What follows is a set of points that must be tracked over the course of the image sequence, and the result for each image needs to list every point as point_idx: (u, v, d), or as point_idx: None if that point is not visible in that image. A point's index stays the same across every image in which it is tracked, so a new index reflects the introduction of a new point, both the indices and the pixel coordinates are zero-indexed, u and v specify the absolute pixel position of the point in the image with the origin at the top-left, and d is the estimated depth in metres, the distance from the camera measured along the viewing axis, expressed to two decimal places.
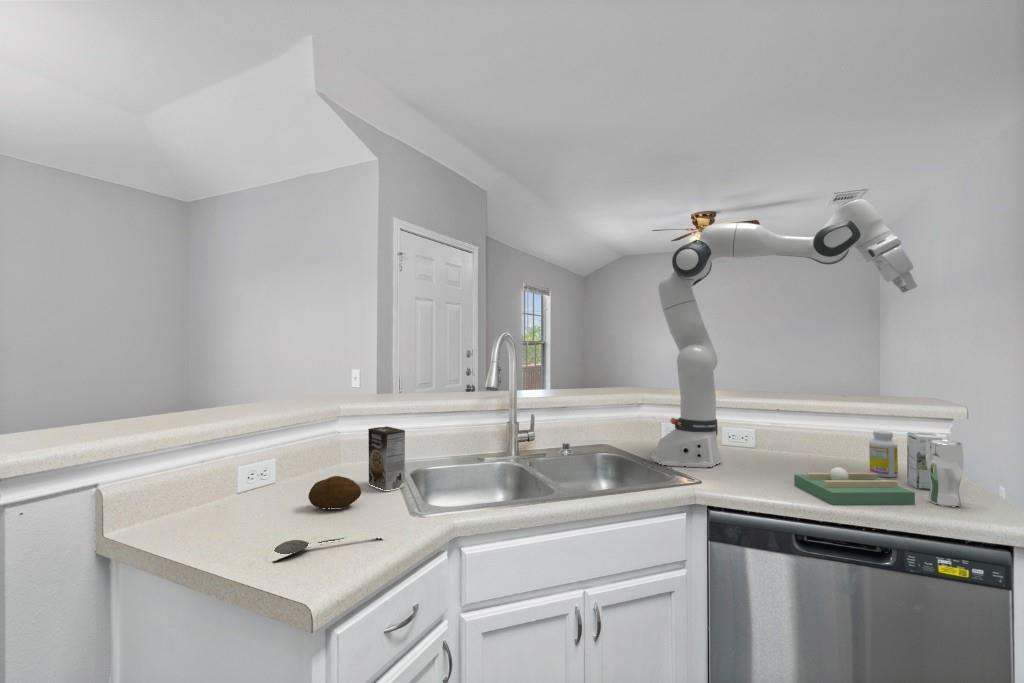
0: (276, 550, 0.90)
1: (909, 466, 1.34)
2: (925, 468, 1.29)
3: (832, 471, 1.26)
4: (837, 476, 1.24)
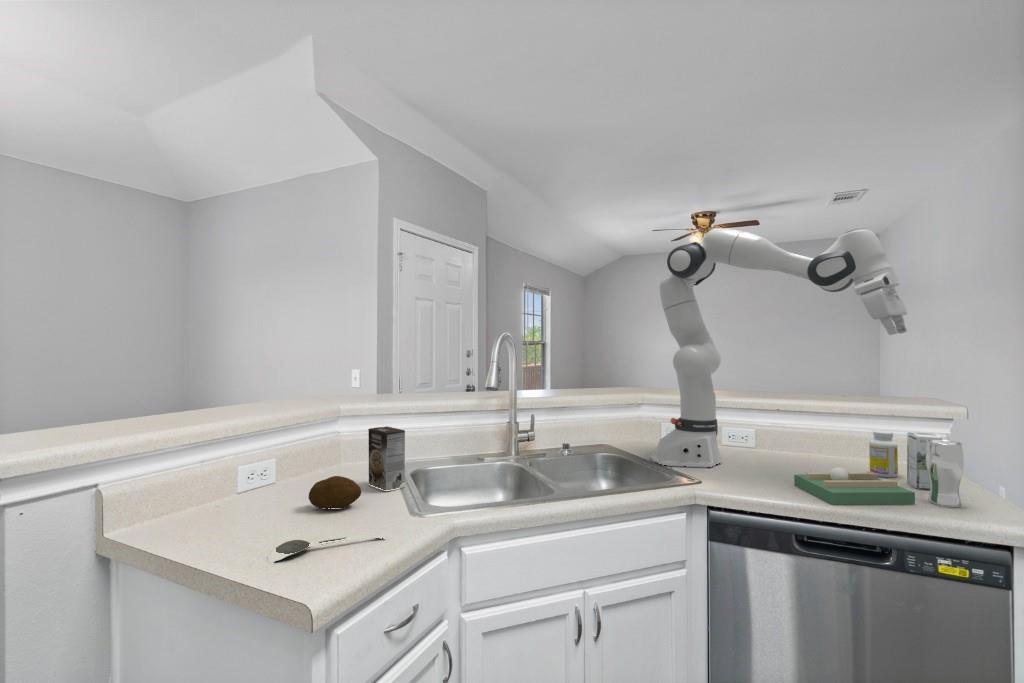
0: (277, 550, 0.90)
1: (909, 466, 1.34)
2: (925, 468, 1.29)
3: (832, 471, 1.26)
4: (837, 476, 1.24)
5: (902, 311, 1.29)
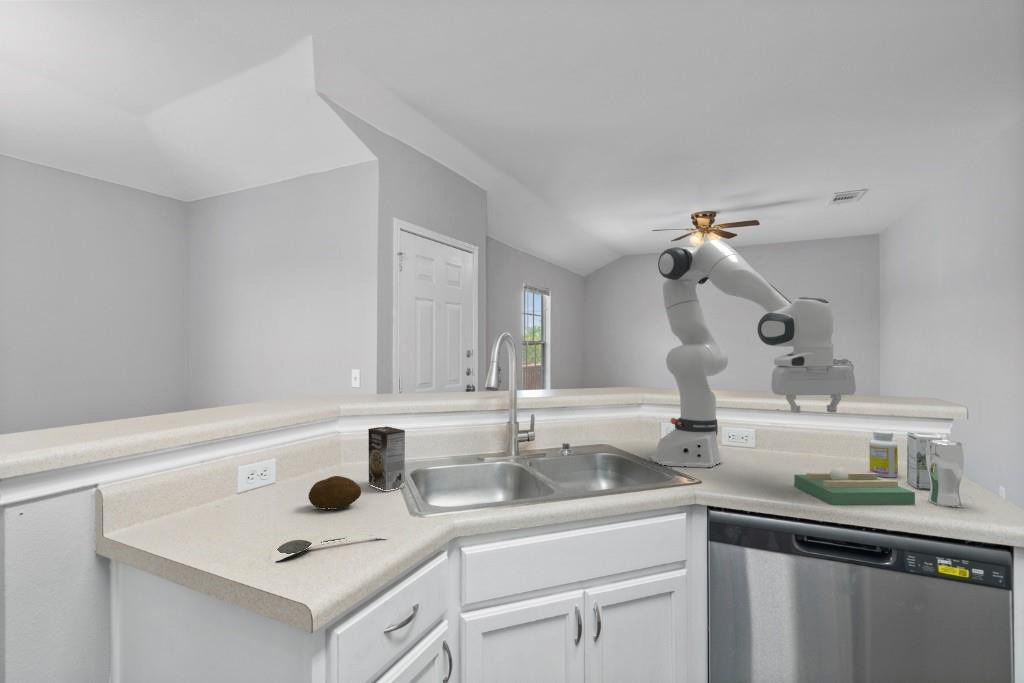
0: (279, 550, 0.90)
1: (909, 466, 1.34)
2: (925, 468, 1.29)
3: (832, 471, 1.26)
4: (837, 476, 1.24)
5: (835, 392, 1.24)
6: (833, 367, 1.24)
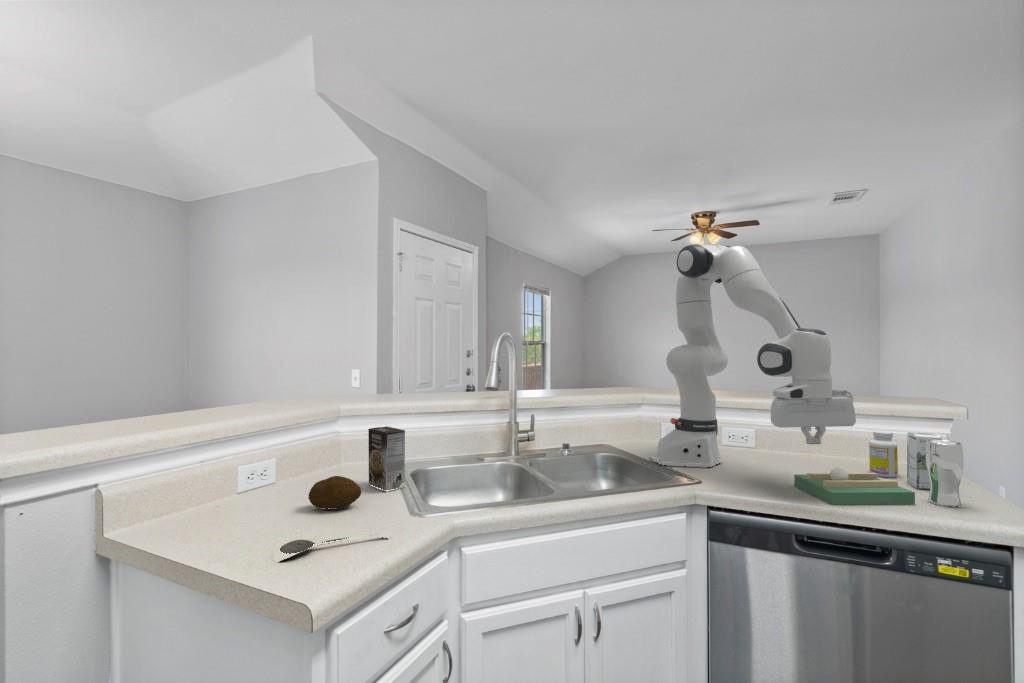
0: (282, 550, 0.90)
1: (909, 466, 1.34)
2: (925, 468, 1.29)
3: (832, 471, 1.26)
4: (837, 476, 1.24)
5: (835, 423, 1.24)
6: (832, 399, 1.24)
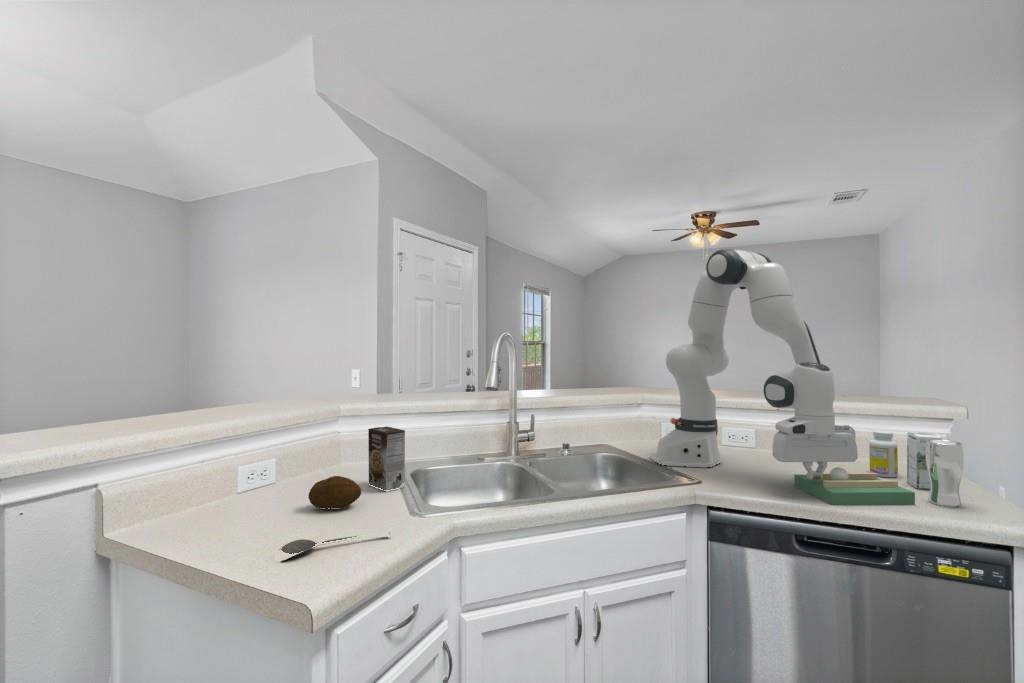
0: (283, 550, 0.90)
1: (909, 466, 1.34)
2: (925, 468, 1.29)
3: (832, 471, 1.26)
4: (837, 476, 1.24)
5: (836, 459, 1.24)
6: (835, 434, 1.24)
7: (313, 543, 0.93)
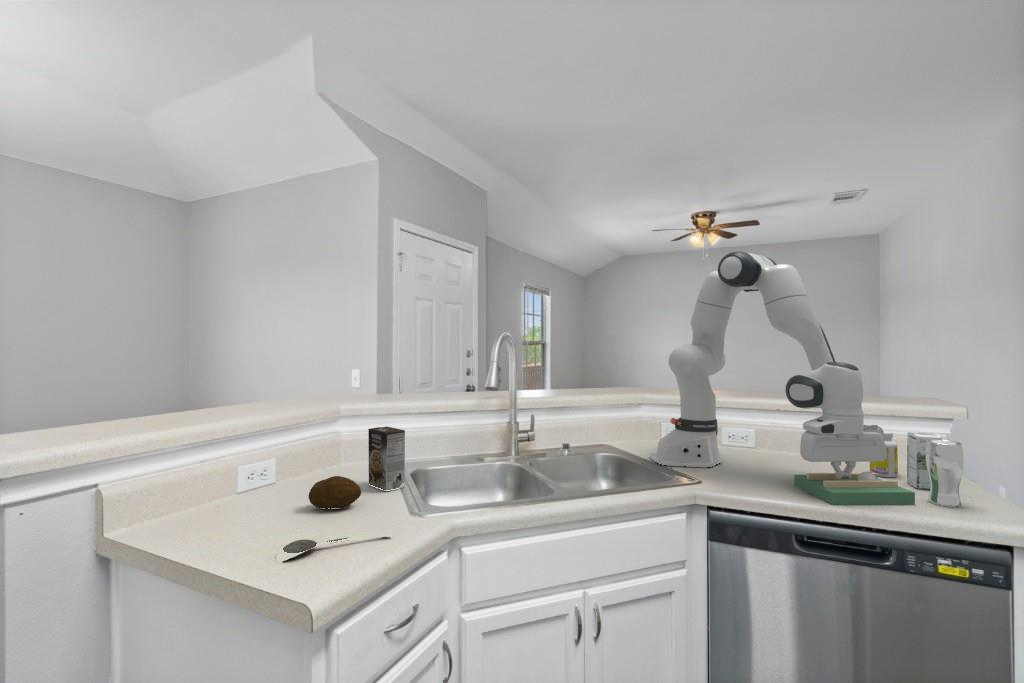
0: (285, 550, 0.90)
1: (909, 466, 1.34)
2: (925, 468, 1.29)
3: None
4: None
5: (865, 458, 1.24)
6: (863, 434, 1.24)
7: (315, 543, 0.93)
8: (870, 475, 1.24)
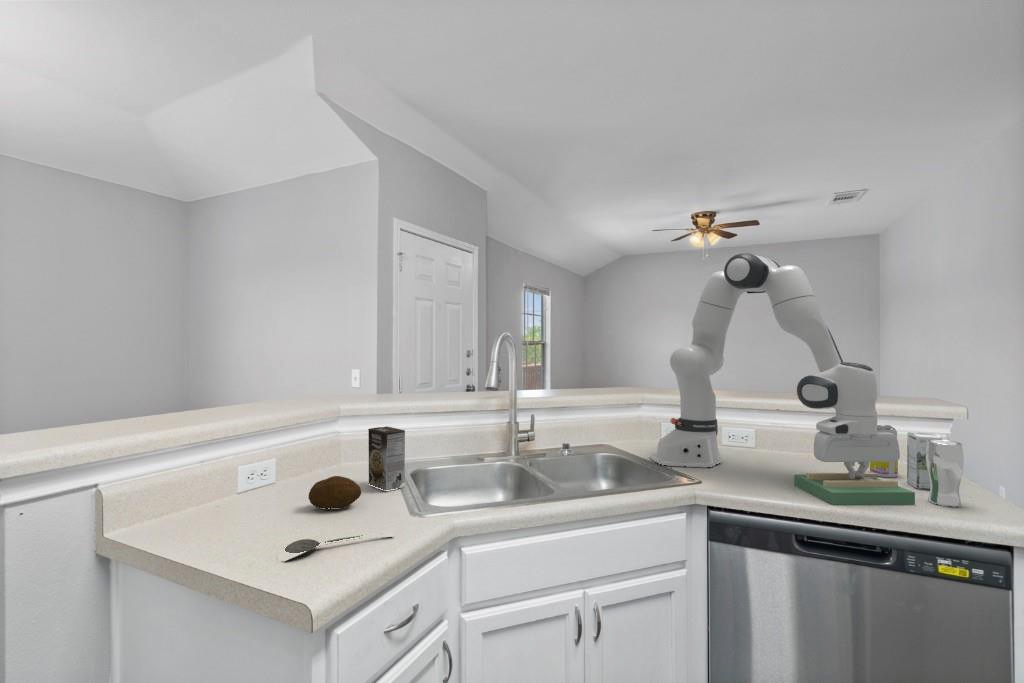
0: (287, 549, 0.91)
1: (909, 466, 1.34)
2: (925, 468, 1.29)
3: None
4: None
5: (879, 459, 1.24)
6: (877, 434, 1.24)
7: (317, 543, 0.93)
8: None
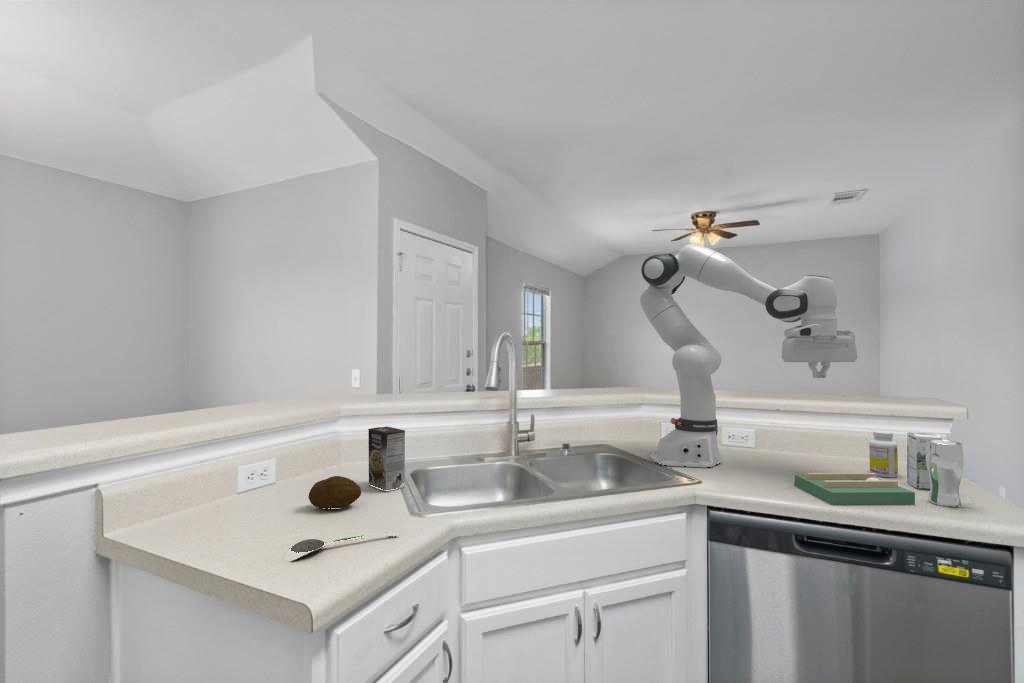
0: (293, 550, 0.91)
1: (909, 466, 1.34)
2: (925, 468, 1.29)
3: None
4: None
5: (838, 359, 1.40)
6: (837, 337, 1.40)
7: (322, 543, 0.93)
8: None
